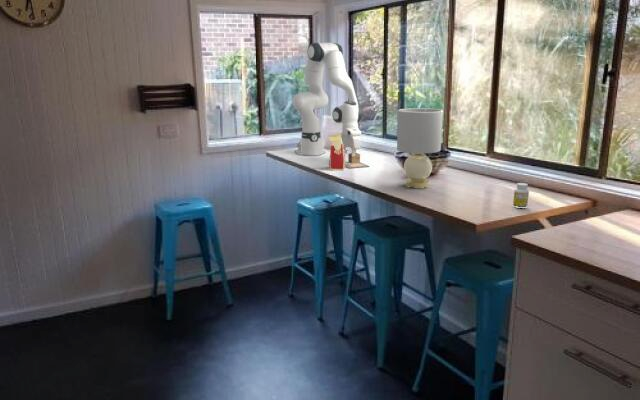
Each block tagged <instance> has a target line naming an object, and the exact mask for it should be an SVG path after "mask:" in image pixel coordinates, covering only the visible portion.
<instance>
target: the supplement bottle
mask: <svg viewBox="0 0 640 400" xmlns="http://www.w3.org/2000/svg"><path fill="white" fill-rule="evenodd" d="M528 185H529V184H528V183H526V182H525V183H524V182H517V183H516V188H515V189H514V193H513V202H512V203H513V204H512V205H514V206H518V207H526V206H527V207H528V205H529V204H528V203H529V196H530V195H529V193H530V191H529V189H528V187H529V186H528Z"/></svg>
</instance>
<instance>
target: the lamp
mask: <svg viewBox="0 0 640 400" xmlns="http://www.w3.org/2000/svg"><path fill="white" fill-rule="evenodd" d="M443 116H444V111H443V110H442V109H437V108H428V107H427V108H425V107H424V108H423V107H421V108H419V107H418V108H417V107H416V108H415V107H414V108H400V109H398V110H397V124H396V125H397V127H396V128H397V131H396V132H397V134H396V135H397V136H396V150H397V151H398V152H403V153H408V154H410V155H409V156H408V157H407V158H406V159H405V161H404V165H403V170H404V174H405V176H407V177H408V178H406V179H405V187H407V186H409V187H417V188H416V189H423V188H422V187H427V186H430V180H429V179H427V178H428V177H429V176H430V175H431V173H432V170H433V164H432V161H431V159H430V158H429V157H428V156H427V155H426V154H432V153H433V154H434V153H438V152H440V151H441V150H442V134H443V132H442V131H443ZM409 187H408V188H409ZM427 188H428V187H427Z"/></svg>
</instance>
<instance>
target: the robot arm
mask: <svg viewBox="0 0 640 400" xmlns="http://www.w3.org/2000/svg"><path fill="white" fill-rule="evenodd" d="M307 47H308V48H307V56H308V57H307V62H306V66H305V73H304V83H305V84H306V85H307V86H308V88H309V92H308V91H306V92H300V93H297V94H295V95H294V96H293V98H292V106H293V108H294V110H296V111H297V112H298V114H299V115H300V119H301V124H302V125H301V126H302V128H301V129H302V132H301V136H300V137H301V138H300V140H299V142H298V143H296V148H298V149H295V150H294V152H295V154H296V155H297V156H298V155H299V156H321V155H322V154H326V150H324V143H323V139H322V138H321V136H322V135H321V130H320V129H321V124H320V123H321V122H320V121H321V120H320V118H319V117H318V116H316V115H315V113H314V112H315V110H321V109H325V108H326V107H327V106H328V105H329V96H328V94H327V93H326V92H325V91H324V86H323V85H324V84H323V79H324V72H325V69H326V76H327V80H328V81H329V83H330V84H332V85H333V86H336V87H338V88H340V89H342V90H344V91H345V92H346V94H347V97H348V98H347V99H348V100H346V101H344V102H343V104H342V105H339V106H336V107H334V109H333V111H332V112H331V113H332V115H331V116H332V120H333V121H334V122H335V123H337V124H342V126H341V127H342V131H341V132H340V133H341V139H342V143H343V147H344V154H348V153H349V149H351V152H350V153H351V156H355V153H357V152H356V151H357V150H359V149H360V148H361V141H362V140H361V136H362V130H360V129H359V124H358V123H360V122H361V121H362V119H363V117H364V110H363V108H362V106H361V104H360V101H359V97H358V94H357V91H356V86H355V84H354V81H353V80H352V78H350V76H349V74H348V73H347V69H346V62H345V59H344V56H343V53H344V50H343V46H342V45H341V44H339V43H337V42H329V41H328V42H326V41H325V42H313V43H310V44H309V45H308V46H307ZM325 67H326V68H325ZM348 148H349V149H348Z"/></svg>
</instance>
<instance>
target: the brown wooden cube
mask: <svg viewBox="0 0 640 400" xmlns="http://www.w3.org/2000/svg"><path fill="white" fill-rule="evenodd" d="M351 153H352V152H350V153H349V152H348V153H347V155H348V157H347V158H348V161H347V162H350V163H360V162H361V154H360V153H358V152H355V156H351Z"/></svg>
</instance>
